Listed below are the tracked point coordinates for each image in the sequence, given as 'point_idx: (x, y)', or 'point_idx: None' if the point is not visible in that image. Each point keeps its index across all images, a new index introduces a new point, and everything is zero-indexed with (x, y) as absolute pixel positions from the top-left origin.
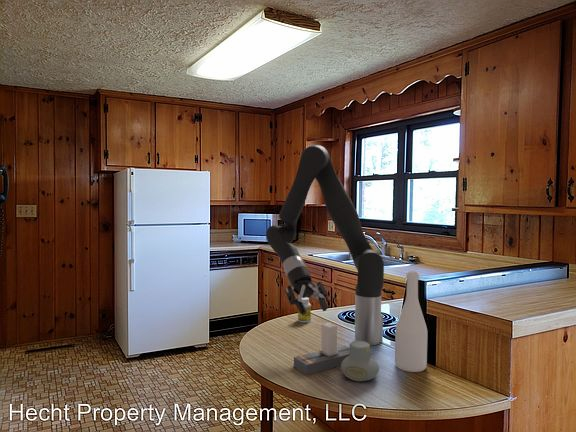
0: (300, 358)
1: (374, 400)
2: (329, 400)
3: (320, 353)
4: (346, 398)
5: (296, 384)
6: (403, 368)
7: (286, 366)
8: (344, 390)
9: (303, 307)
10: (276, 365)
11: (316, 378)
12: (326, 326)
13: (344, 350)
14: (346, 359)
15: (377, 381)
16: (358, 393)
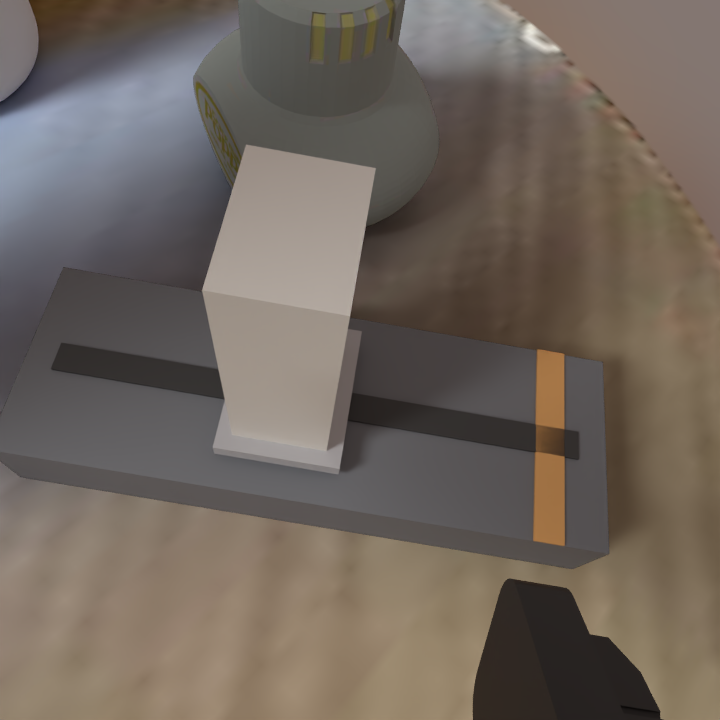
0: (572, 488)
1: (456, 20)
2: (636, 131)
3: (346, 451)
4: (553, 96)
5: (702, 341)
6: (37, 43)
7: (623, 616)
8: (505, 140)
9: (580, 665)
10: (691, 697)
11: (544, 317)
12: (365, 222)
13: (122, 354)
14: (393, 126)
15: None
16: (468, 86)
